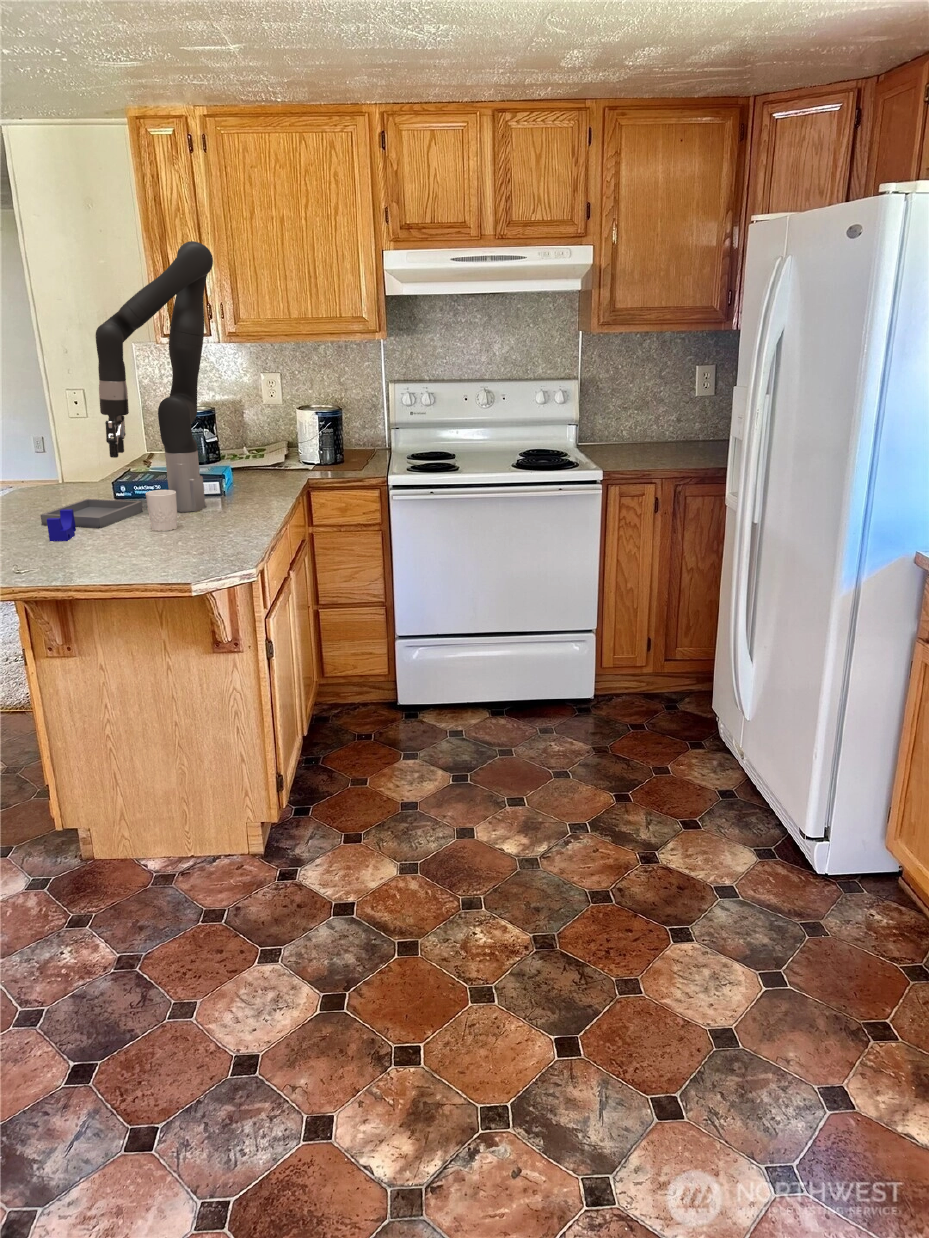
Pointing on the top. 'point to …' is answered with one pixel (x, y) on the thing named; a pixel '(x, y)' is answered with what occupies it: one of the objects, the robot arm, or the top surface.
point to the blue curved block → (62, 526)
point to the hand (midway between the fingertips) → (117, 455)
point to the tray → (97, 512)
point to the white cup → (162, 509)
